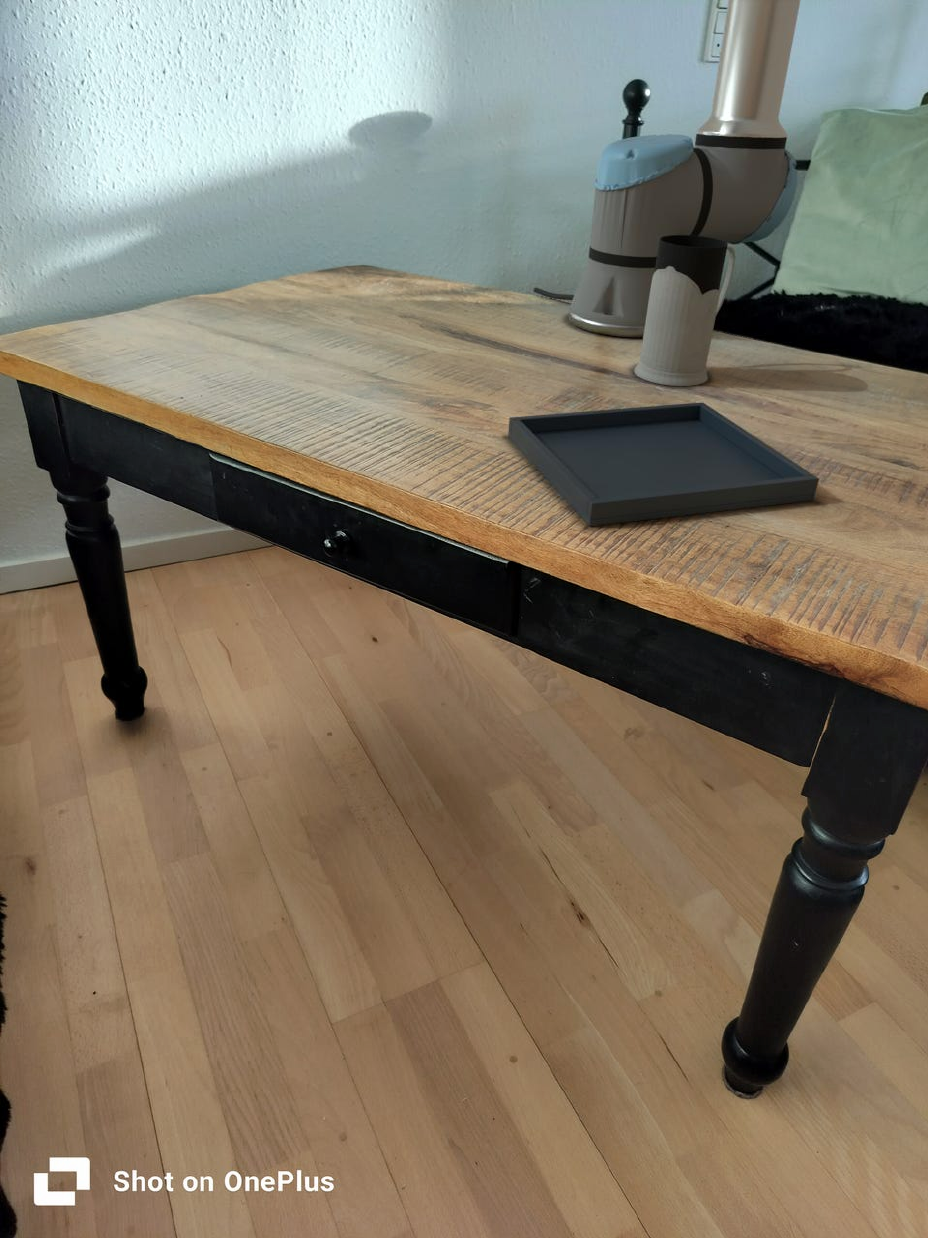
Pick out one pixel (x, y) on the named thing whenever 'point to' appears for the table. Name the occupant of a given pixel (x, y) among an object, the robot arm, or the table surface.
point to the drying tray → (657, 463)
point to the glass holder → (683, 309)
